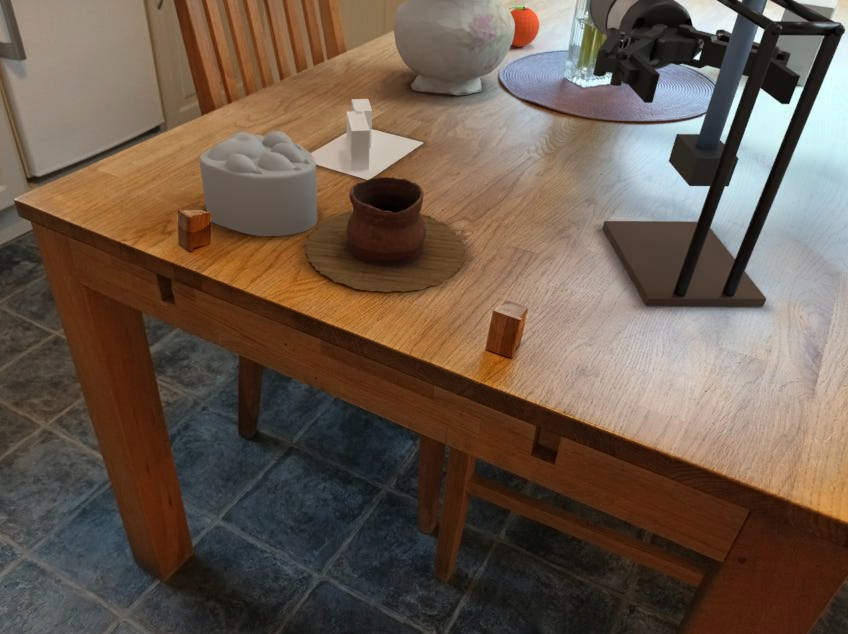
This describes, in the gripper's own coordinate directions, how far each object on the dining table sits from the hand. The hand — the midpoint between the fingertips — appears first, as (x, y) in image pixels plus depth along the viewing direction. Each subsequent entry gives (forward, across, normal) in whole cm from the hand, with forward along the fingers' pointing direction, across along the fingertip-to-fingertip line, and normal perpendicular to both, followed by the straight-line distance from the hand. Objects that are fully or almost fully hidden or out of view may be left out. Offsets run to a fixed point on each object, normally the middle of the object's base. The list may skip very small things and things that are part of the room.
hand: (722, 89), depth 69 cm
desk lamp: (+2, 0, -18) cm, 18 cm away
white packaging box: (-61, -43, -18) cm, 77 cm away
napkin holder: (-27, +34, -18) cm, 47 cm away
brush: (+1, 0, -8) cm, 8 cm away
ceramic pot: (0, +32, -18) cm, 37 cm away
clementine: (-78, +3, -18) cm, 80 cm away
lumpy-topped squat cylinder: (-8, +46, -18) cm, 50 cm away
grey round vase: (-56, +18, -18) cm, 62 cm away
